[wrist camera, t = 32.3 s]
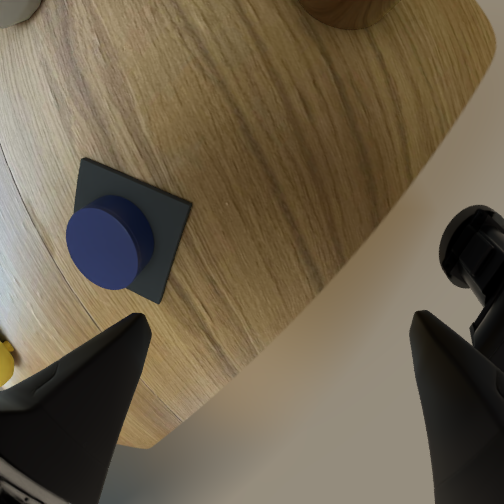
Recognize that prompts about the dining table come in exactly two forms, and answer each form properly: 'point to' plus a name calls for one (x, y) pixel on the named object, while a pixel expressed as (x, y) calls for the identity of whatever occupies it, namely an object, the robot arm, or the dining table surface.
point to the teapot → (6, 362)
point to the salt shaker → (16, 11)
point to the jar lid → (110, 241)
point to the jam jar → (348, 12)
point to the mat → (155, 210)
